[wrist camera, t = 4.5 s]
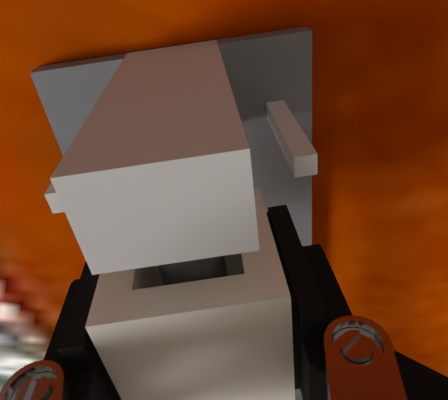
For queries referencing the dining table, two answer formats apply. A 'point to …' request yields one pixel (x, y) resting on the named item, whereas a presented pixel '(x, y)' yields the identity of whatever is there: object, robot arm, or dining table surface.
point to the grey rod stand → (182, 150)
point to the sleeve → (199, 330)
